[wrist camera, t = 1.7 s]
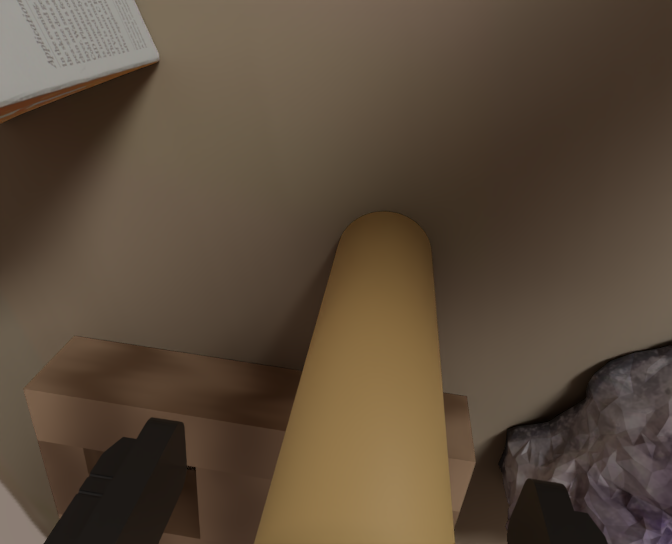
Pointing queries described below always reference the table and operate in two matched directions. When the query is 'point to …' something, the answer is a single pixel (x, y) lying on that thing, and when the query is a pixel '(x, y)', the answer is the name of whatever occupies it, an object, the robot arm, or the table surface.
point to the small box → (66, 49)
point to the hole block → (188, 429)
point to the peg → (368, 403)
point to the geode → (607, 450)
